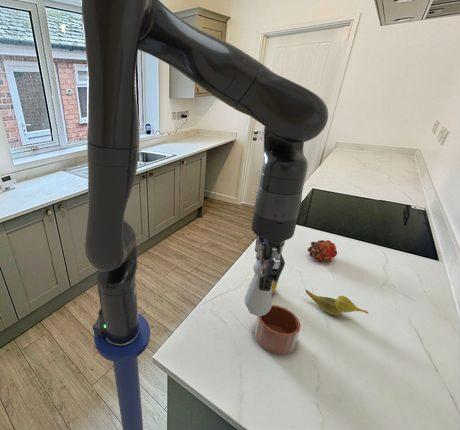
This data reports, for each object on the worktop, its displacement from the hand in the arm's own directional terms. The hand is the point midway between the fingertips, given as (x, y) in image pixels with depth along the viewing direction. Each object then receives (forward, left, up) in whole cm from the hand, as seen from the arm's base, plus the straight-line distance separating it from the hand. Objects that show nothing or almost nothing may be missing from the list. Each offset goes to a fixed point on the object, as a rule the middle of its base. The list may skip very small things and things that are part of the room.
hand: (261, 281), depth 56 cm
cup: (+7, +5, -22) cm, 24 cm away
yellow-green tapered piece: (+25, +17, -23) cm, 38 cm away
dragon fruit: (+32, +45, -23) cm, 60 cm away
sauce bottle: (+8, +23, -23) cm, 33 cm away
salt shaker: (0, 0, -8) cm, 8 cm away
